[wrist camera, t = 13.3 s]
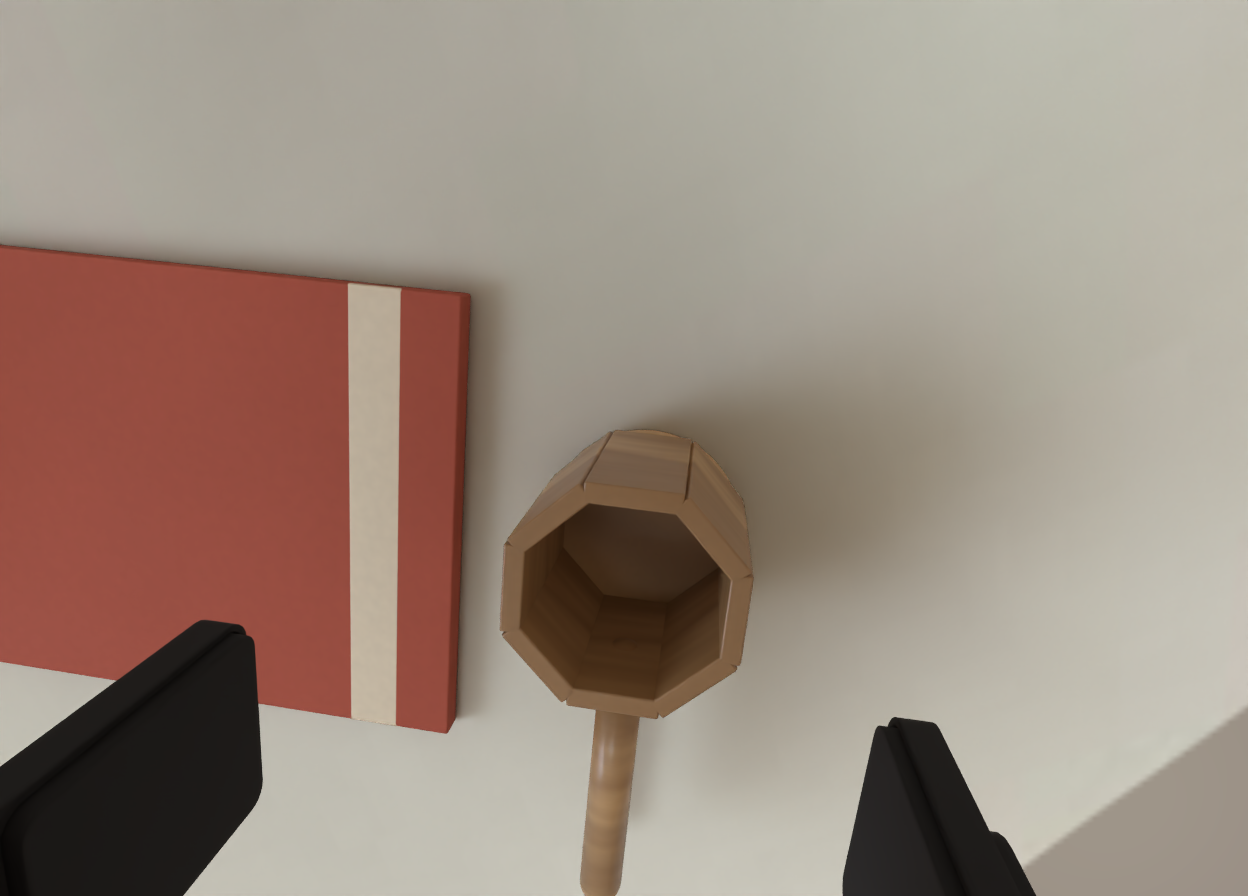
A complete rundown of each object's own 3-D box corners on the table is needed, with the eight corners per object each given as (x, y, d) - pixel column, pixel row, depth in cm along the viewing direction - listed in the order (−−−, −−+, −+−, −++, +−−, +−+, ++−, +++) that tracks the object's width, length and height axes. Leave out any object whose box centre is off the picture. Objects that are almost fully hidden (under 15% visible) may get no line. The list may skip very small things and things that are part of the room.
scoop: (559, 418, 21) (507, 471, 16) (752, 441, 20) (765, 504, 15) (532, 800, 25) (482, 949, 19) (696, 828, 24) (691, 989, 19)
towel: (-214, 222, 22) (-248, 221, 22) (471, 293, 20) (462, 294, 20) (-133, 625, 26) (-159, 637, 25) (456, 719, 24) (447, 735, 23)
